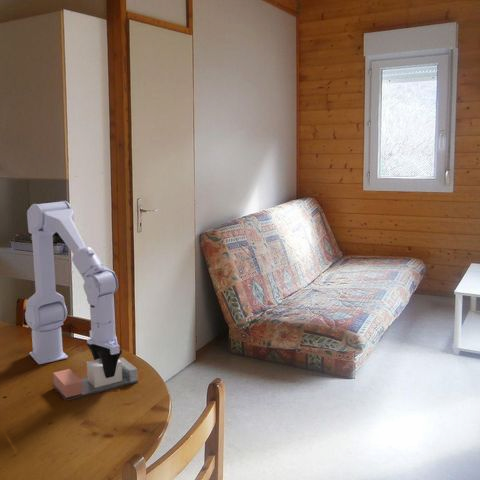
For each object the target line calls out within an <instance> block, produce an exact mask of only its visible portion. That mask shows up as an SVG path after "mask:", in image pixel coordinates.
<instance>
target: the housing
mask: <svg viewBox="0 0 480 480" xmlns="http://www.w3.org/2000/svg"><path fill="white" fill-rule="evenodd" d="M86 375H87V377H88V381H89V382H90V383H91V384H92V385H93V386H94V387H95V388H96V387H100V386H104V385H108V384H111V383H115V382H119V381H122V364H121V361H120V360H119V359H118V362H117V366H116V371H115V375H114V376H113V377H109V378H106V377H105V374H104V370H103V364H102V361H101V359H96V360H94V359H92V360H87V361H86Z"/></svg>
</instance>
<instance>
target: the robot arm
mask: <svg viewBox="0 0 480 480" xmlns="http://www.w3.org/2000/svg"><path fill="white" fill-rule="evenodd" d="M26 217H27V229H28V233H29V234H31V243H32V254H33V255H32V257H33V271H34V273H33V274H34V282H35V283H34V285H35V293H34V294H32V295H31V296H30V297H29V298H28V299H27V300H26V302H25V303H26V304H25V306H26V307H25V308H26V309H25V312H24V316H25V317H24V319H25V322H26V324H27V326H28V327H29V328H30V329H31V339H32V342H31V344H32V351H30V352H29V355H30V356H31V357H32V358H33V360H34V361H35V362H36V363H37V364H38V365H43V364H48V363H53V362H56V361H61V360H65V359H69V357H68V356H69V355H67V354H66V353H65V352H64V351H63V350H64V349H63V336H62V335H63V333H62V326H64V322H65V321H66V319H67V316H68V309H67V306H66V303H65V301H66V300H65V297H64V296H63V295H62V294H60V293H59V292H57V290H56V273H55V257H54V237H53V236H54V234H56V233H57V234H58V235H59V237H60V239H62V240H63V242H64V243H65V245H66V246H67V248H69V250H70V252H72V254H73V255H72V257H71V261H72V263H73V265H74V266H75V268H76V270H77V271H78V272H79V275H80V276H81V277H82V279H83V281H84V283H83V286H82V287H83V290H84V293H85V294H86V295H85V296H86V301H87V303H88V305H89V313H90V314H89V315H90V329H91V330H89V331H88V332H89V339H87V340H86V342H87V345H86V346H87V347H88V349H89V350H90V352H91V354H92V357H93V360H96V359H101V361H102V364H103V370H104V374H105V377H106V378H109V377H113V376H114V375H115V371H116V366H117V362H118V359H119V358H121V355H122V354H123V350H122V348H120V344H118V338H117V335H116V318H115V317H116V316H115V315H116V313H115V298H114V297H115V296H114V294H115V293H116V292H117V291H118V288H119V280H118V277H117V275H116V273H115V271H114V270H112V269H109V268H108V267H107V266H104V264H103V263H102V261H101V259H100V258H99V256H98V254H97V253H96V252H95V251H94V249H93V248H92V247H89V246H86V244H85V242H84V240H83V237H82V236H81V234H80V232H79V230H78V229H77V226H76V224H75V222H74V221H75V220H74V219H75V211H74V210H73V208H72V206H71V204H70V202H68V201H67V200H61V201H55V202H48V203H38V204H37V203H32V204H31V206H30V207H28V209H27V211H26Z"/></svg>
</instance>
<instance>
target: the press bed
mask: <svg viewBox="0 0 480 480" xmlns="http://www.w3.org/2000/svg"><path fill="white" fill-rule="evenodd" d="M119 360H120V361H121V364H122V381H119V382H115V383H111V384H108V385H104V386H100V387H96V388H95V387H94V386H93V385H92V384H91V383H90V382H89V381H88V376H87V377H82V378H79V379H80V380H81V381H82V388H83V394H79V395H75V396H71V397H68V398H66V397H65V396H64V395H63V394H62V393H61V392H60V391H59V389H58V388H57V387H56V386H55V385H54V384H53V387H54V389H55V390H56V392H57V393H59V395H60V396H61V397H62V398H63V399H64V401H66V402H68V401H72V400H75V399H80V398H83V397H87V396H91V395H94V394H99V393H101V392H105V391H109V390H113V389H116V388H121V387H125V386H128V385H132V384H135V383H138V382H139V381H138V380H139V376H138V368H137V367H136V366H134V365H133V364H132V363H130V362H129V361H128V360H127V359H126V358H124V357H119Z"/></svg>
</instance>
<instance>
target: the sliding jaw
mask: <svg viewBox="0 0 480 480" xmlns="http://www.w3.org/2000/svg"><path fill="white" fill-rule="evenodd" d="M52 375H53V377H52V378H53V386H54V385H55V386H56V387H57V388H58V389H59V391H60V392H61V393H62V394H63V395H64V396H65V397H66V398H68V397H71V396H75V395H79V394H83V388H82V381H81V380H80V379H81V378H79V377H78V376H77V375H76V373H74V372H73V371H72V370H71V369H70V368H68V369H63V370H59V371H54V372H53V373H52Z"/></svg>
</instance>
